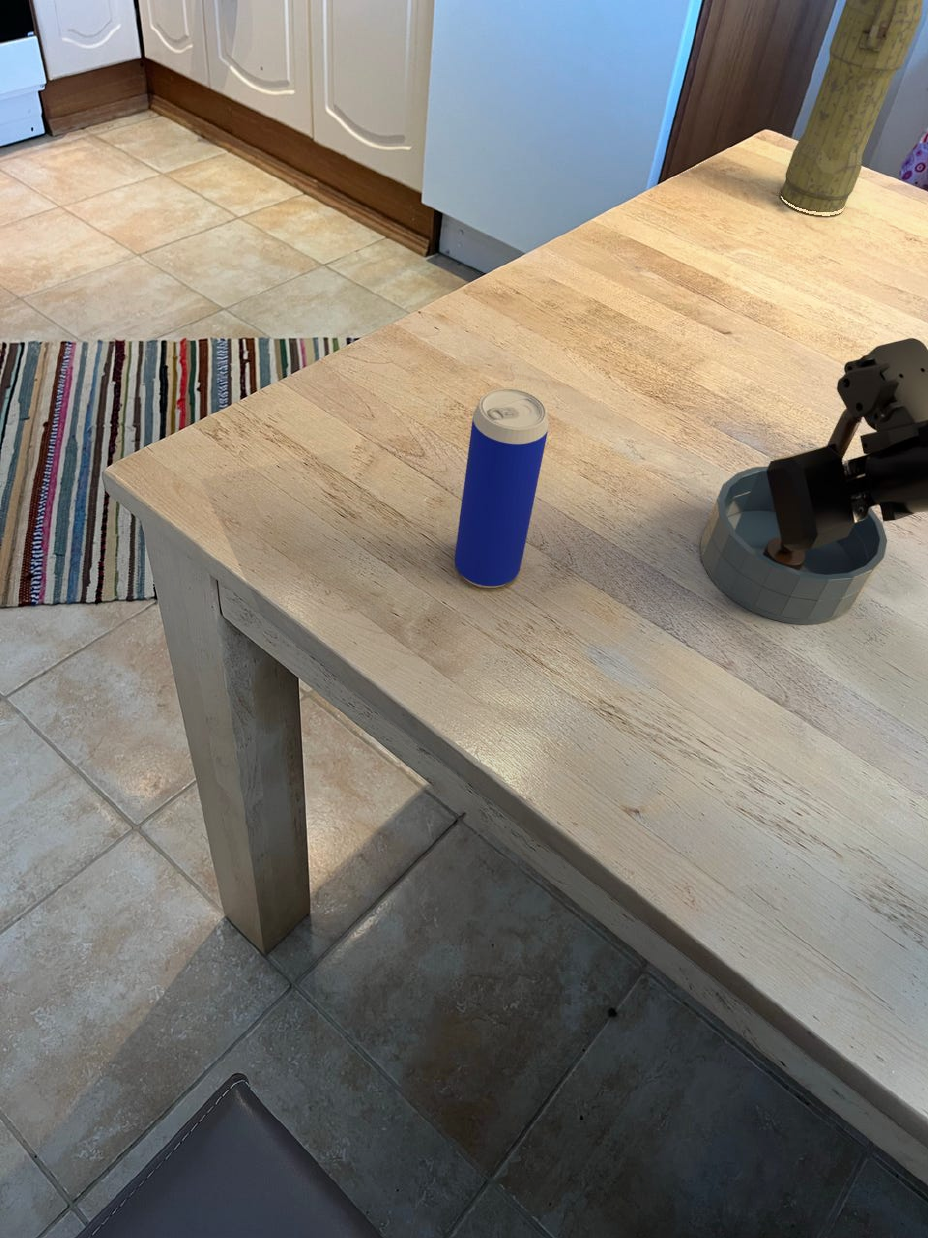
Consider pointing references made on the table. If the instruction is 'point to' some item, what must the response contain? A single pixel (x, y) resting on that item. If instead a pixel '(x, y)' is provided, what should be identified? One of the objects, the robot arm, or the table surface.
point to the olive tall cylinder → (849, 101)
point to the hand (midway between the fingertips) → (799, 488)
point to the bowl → (772, 587)
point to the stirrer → (842, 439)
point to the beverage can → (500, 486)
